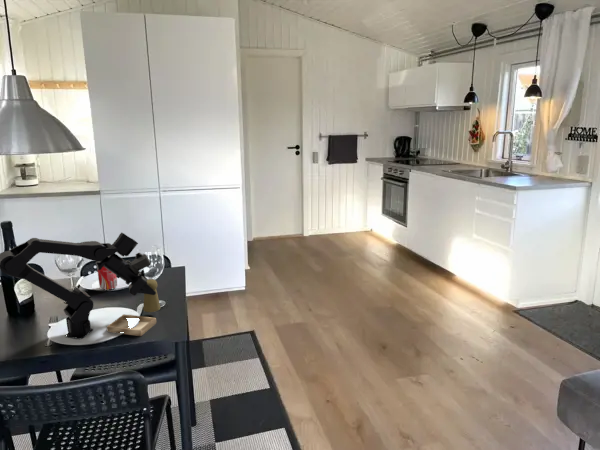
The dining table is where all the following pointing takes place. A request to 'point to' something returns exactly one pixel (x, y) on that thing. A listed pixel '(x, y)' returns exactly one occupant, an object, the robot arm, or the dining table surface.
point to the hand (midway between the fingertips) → (154, 291)
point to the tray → (139, 330)
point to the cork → (151, 298)
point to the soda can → (107, 279)
